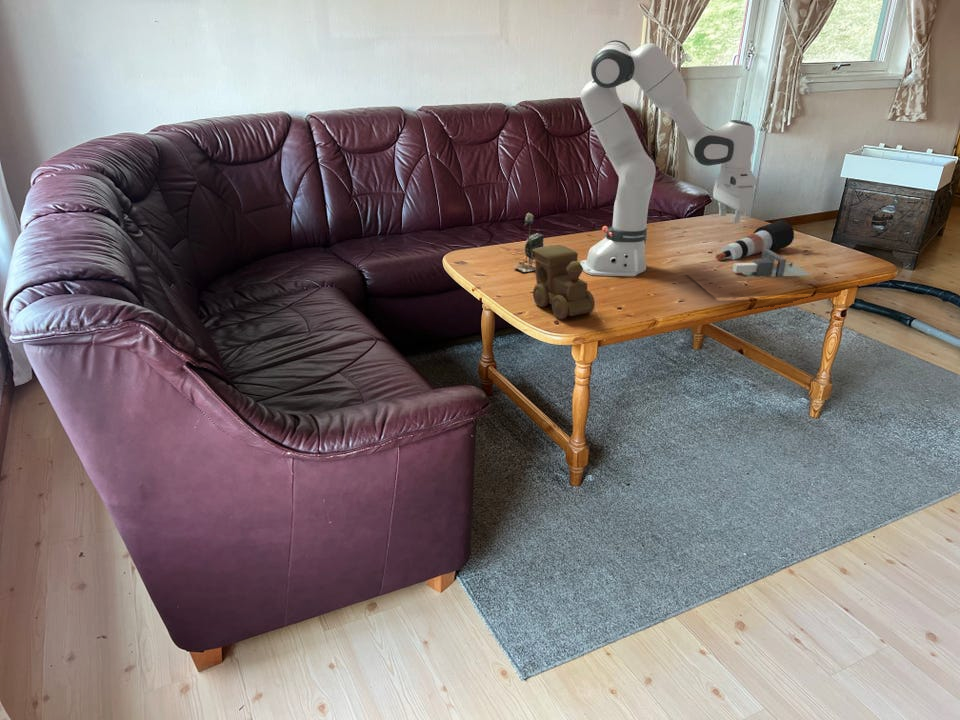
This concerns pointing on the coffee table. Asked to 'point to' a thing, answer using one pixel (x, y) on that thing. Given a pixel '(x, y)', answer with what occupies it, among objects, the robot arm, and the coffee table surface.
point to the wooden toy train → (560, 282)
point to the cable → (760, 241)
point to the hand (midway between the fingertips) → (728, 219)
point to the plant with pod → (530, 247)
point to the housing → (778, 266)
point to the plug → (755, 267)
